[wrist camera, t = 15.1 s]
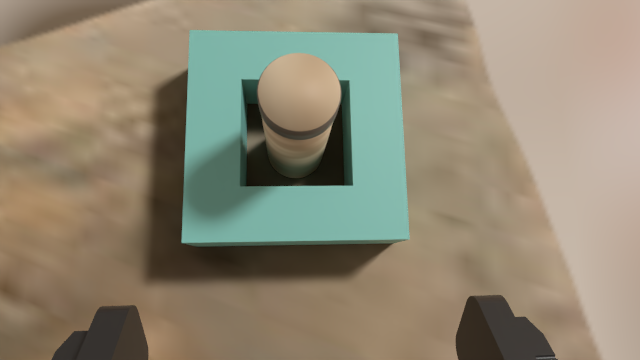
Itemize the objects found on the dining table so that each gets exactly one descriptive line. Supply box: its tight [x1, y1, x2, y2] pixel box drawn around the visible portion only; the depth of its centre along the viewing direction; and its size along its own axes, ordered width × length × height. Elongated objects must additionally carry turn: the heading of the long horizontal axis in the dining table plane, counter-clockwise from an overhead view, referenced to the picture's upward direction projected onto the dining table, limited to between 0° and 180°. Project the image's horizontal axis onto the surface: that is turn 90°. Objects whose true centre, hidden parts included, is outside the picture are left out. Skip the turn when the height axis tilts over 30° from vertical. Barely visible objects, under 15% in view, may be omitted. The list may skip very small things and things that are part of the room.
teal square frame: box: [182, 30, 410, 247], centre depth 25 cm, size 11×11×4 cm
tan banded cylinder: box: [257, 53, 342, 178], centre depth 22 cm, size 3×3×9 cm
